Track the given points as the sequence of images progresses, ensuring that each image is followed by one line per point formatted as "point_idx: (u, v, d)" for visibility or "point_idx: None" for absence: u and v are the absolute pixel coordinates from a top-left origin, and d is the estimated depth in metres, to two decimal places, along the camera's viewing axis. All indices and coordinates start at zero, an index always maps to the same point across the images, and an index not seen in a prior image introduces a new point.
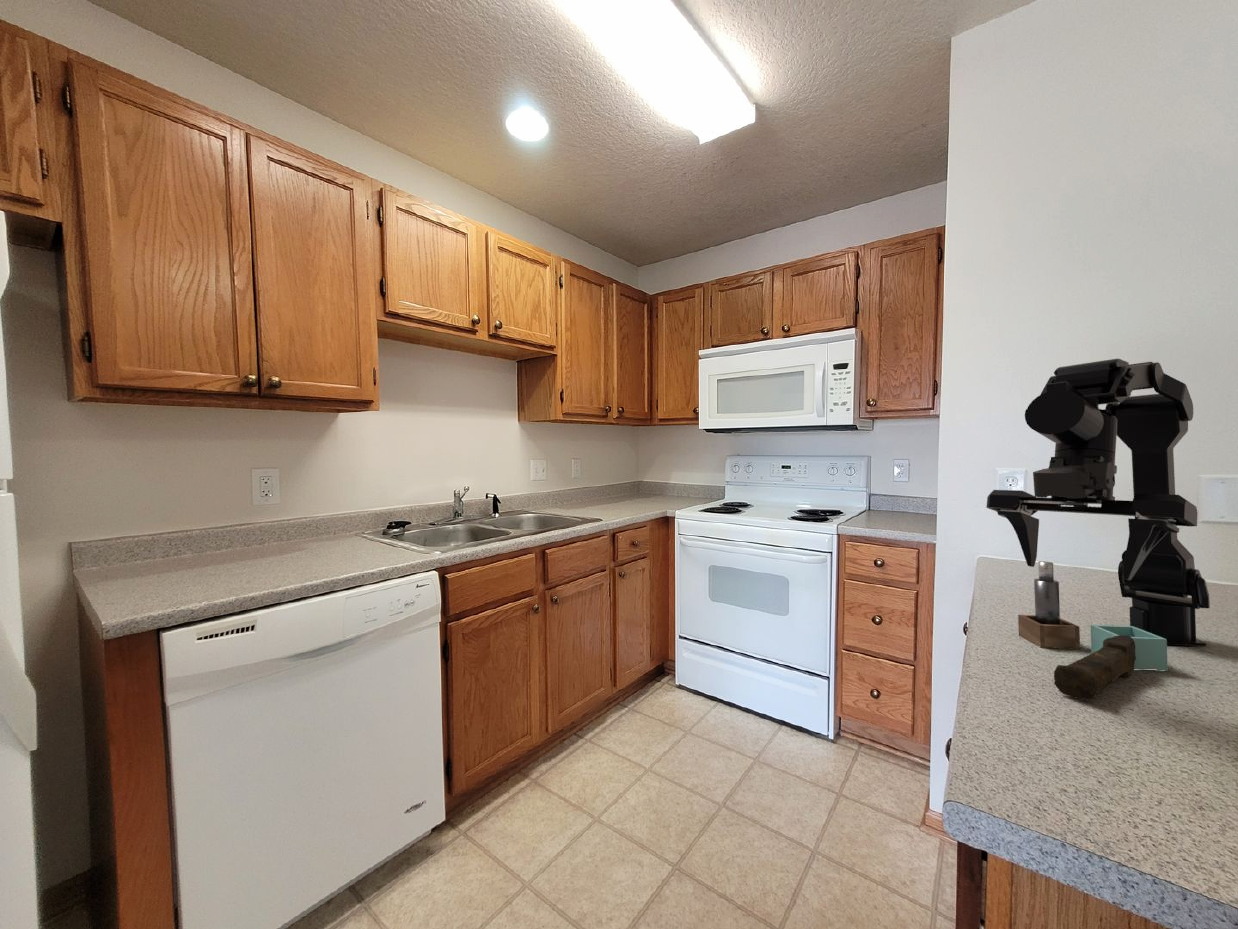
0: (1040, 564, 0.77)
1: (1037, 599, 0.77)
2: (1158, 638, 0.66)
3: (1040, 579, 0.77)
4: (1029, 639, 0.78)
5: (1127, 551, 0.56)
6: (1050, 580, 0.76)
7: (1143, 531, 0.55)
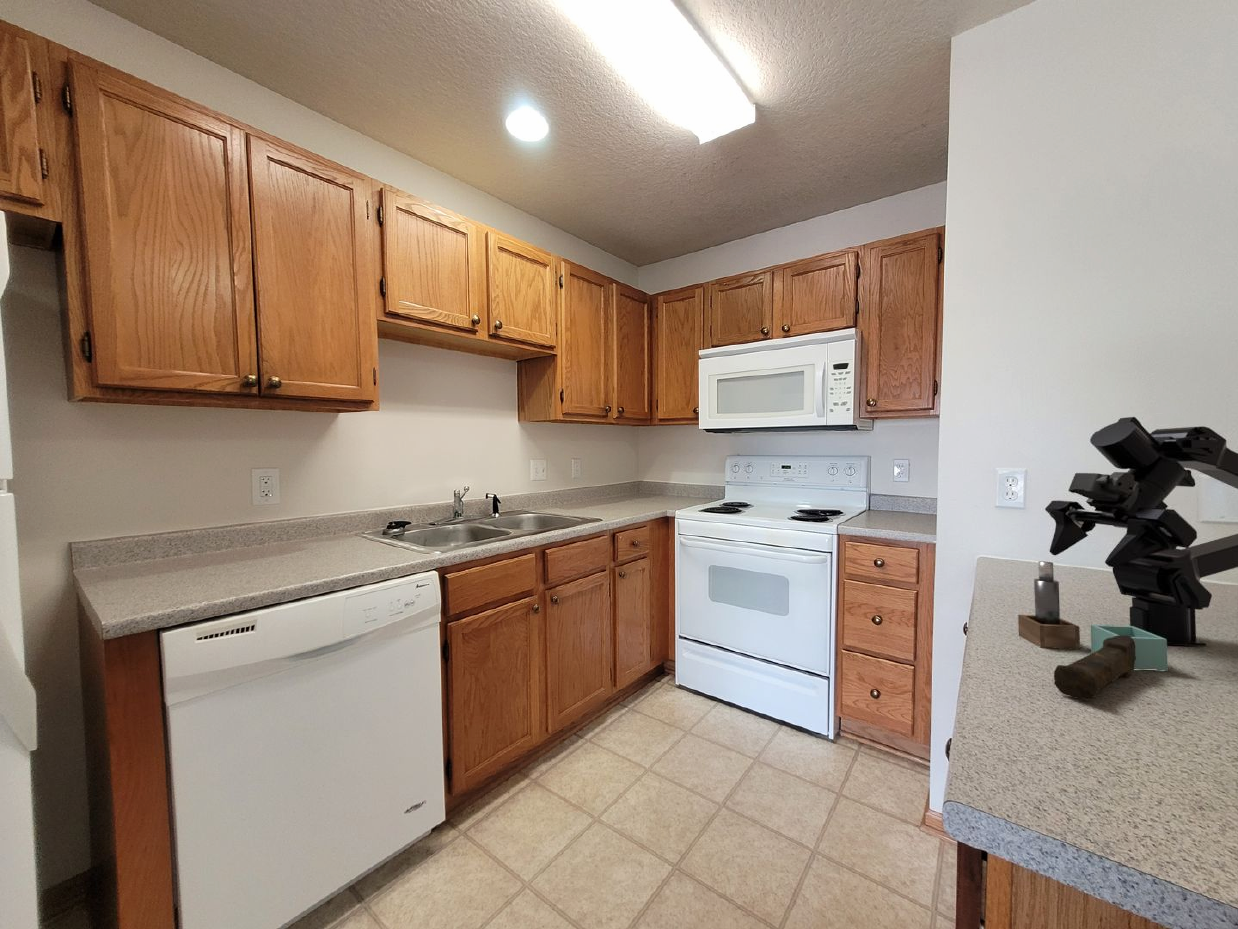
0: (1040, 564, 0.77)
1: (1037, 599, 0.77)
2: (1158, 638, 0.66)
3: (1040, 579, 0.77)
4: (1029, 639, 0.78)
5: (1118, 544, 0.72)
6: (1050, 580, 0.76)
7: (1135, 530, 0.71)
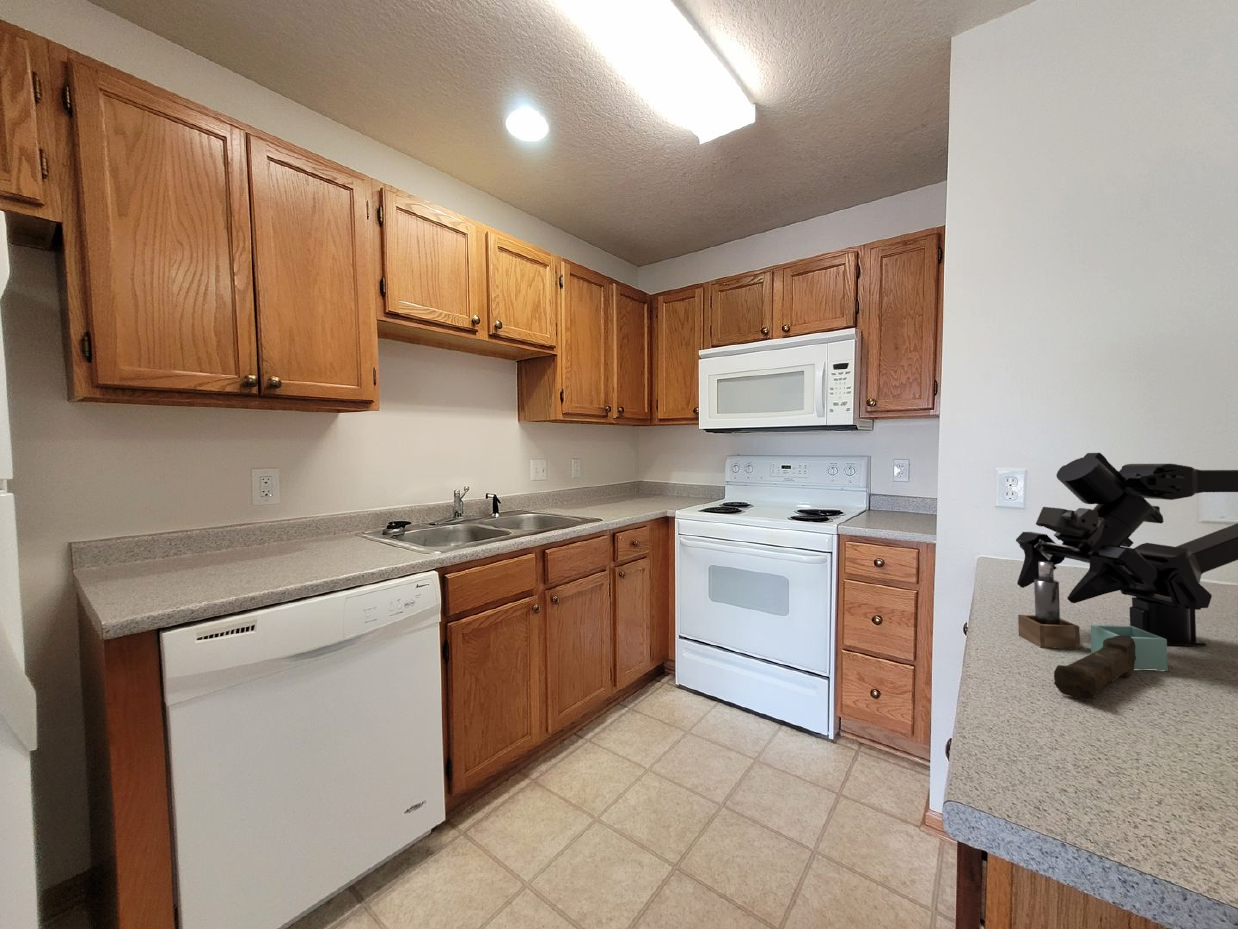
0: (1040, 564, 0.77)
1: (1037, 599, 0.77)
2: (1158, 638, 0.66)
3: (1040, 579, 0.77)
4: (1029, 639, 0.78)
5: (1080, 581, 0.73)
6: (1050, 580, 0.76)
7: (1096, 568, 0.71)
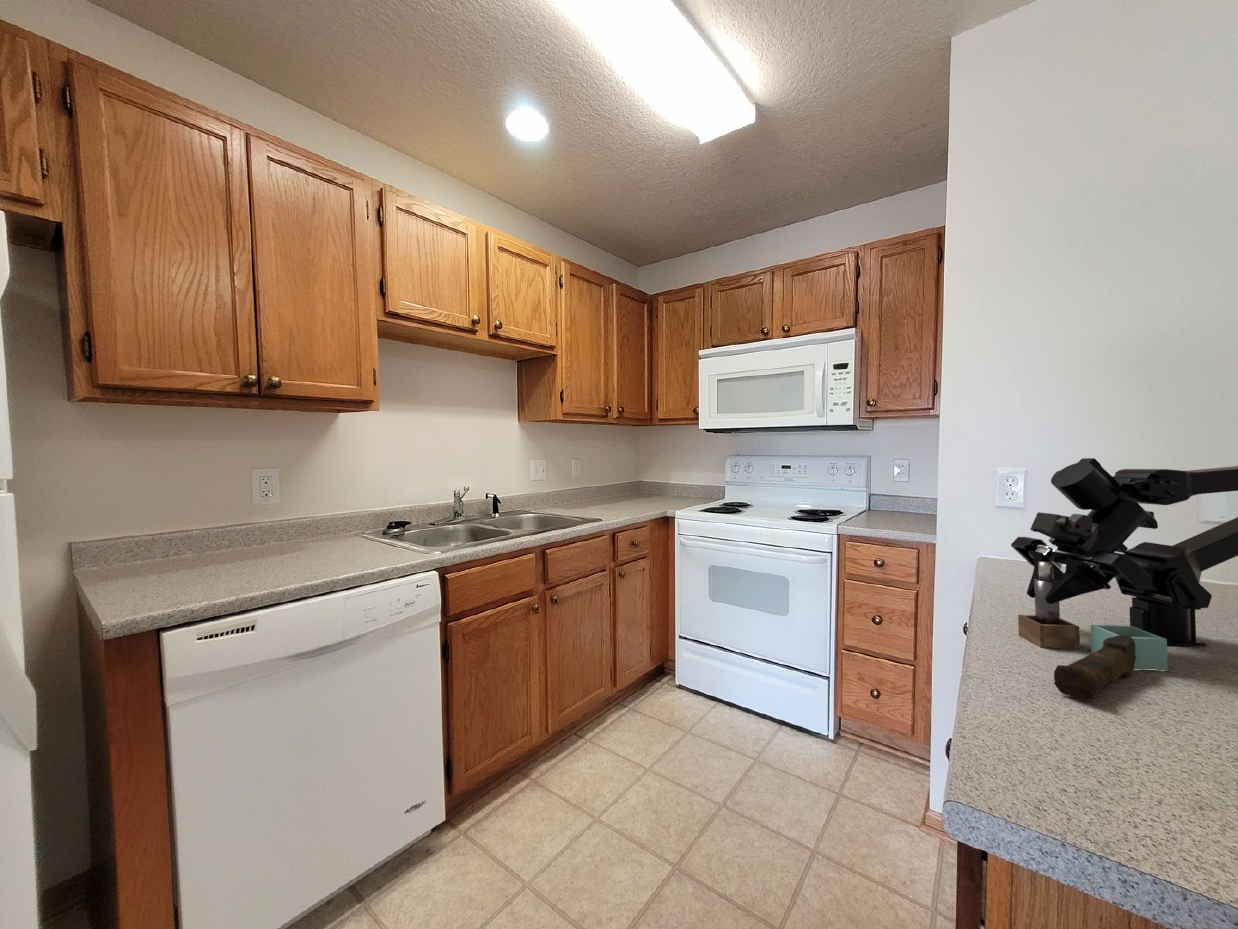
0: (1040, 564, 0.77)
1: (1037, 599, 0.77)
2: (1158, 638, 0.66)
3: (1040, 579, 0.77)
4: (1029, 639, 0.78)
5: (1057, 582, 0.75)
6: (1050, 580, 0.76)
7: (1072, 569, 0.74)
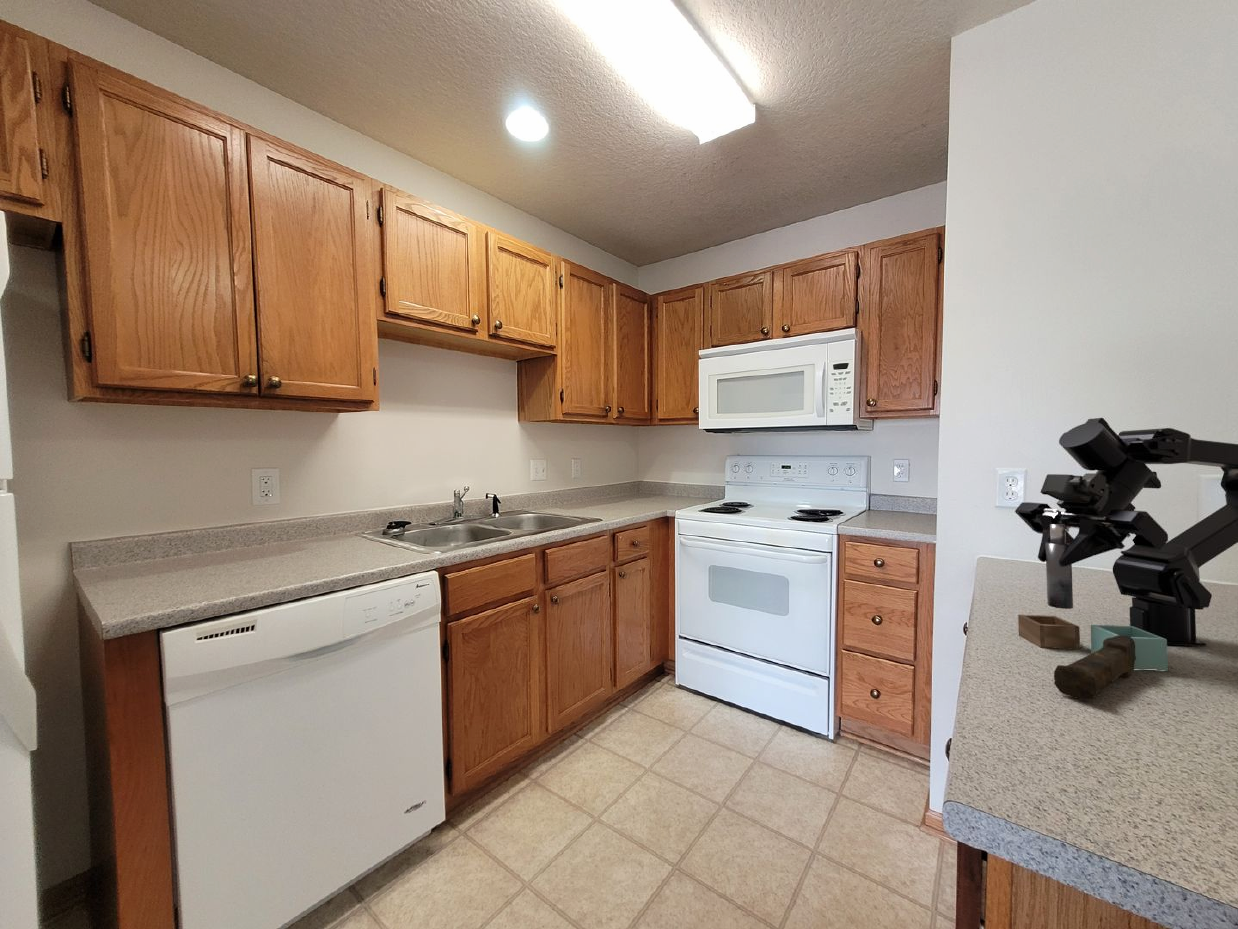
0: (1052, 526, 0.75)
1: (1049, 563, 0.75)
2: (1158, 638, 0.66)
3: (1052, 542, 0.76)
4: (1029, 639, 0.78)
5: (1070, 544, 0.74)
6: (1063, 542, 0.75)
7: (1086, 530, 0.72)
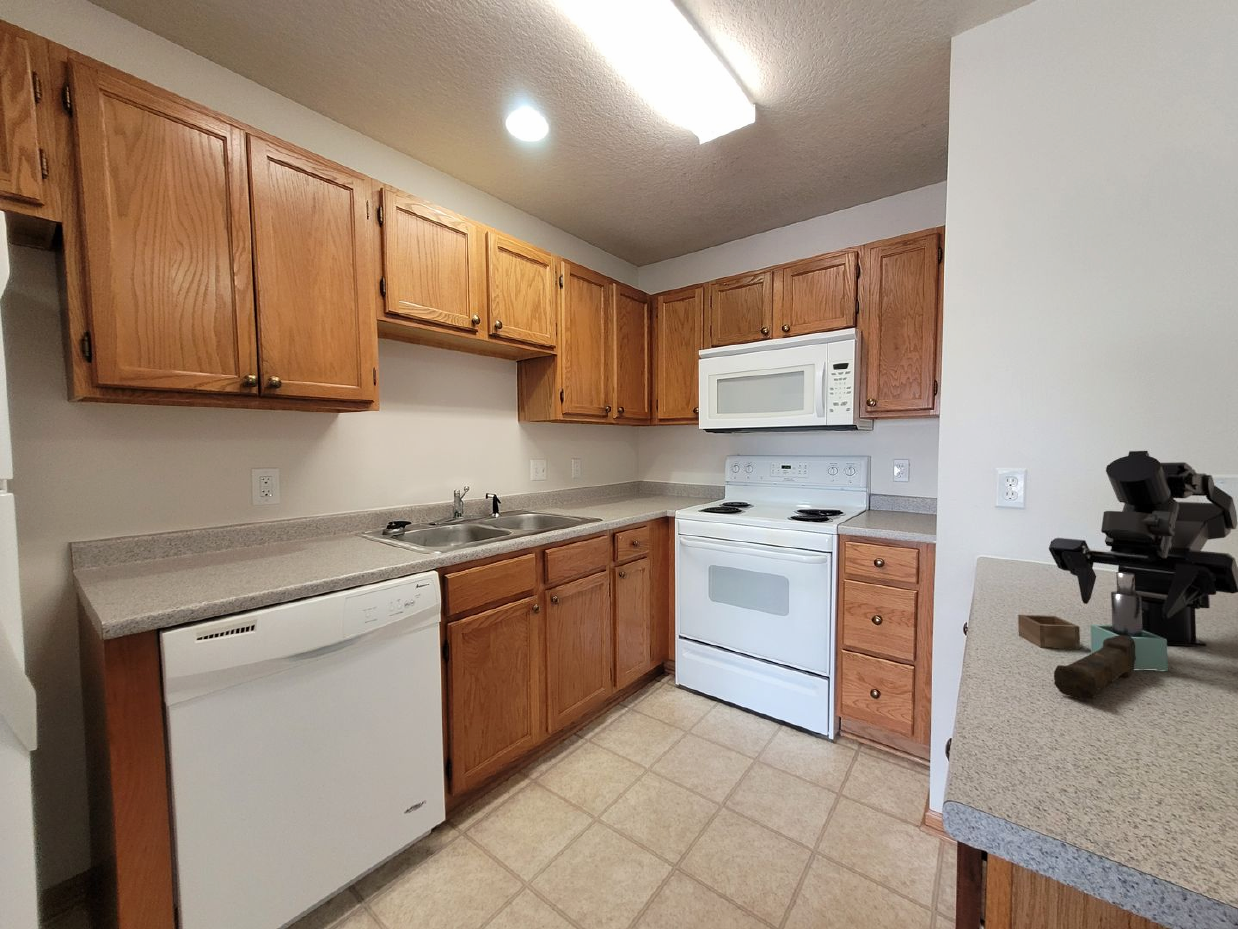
0: (1123, 576, 0.68)
1: (1121, 617, 0.68)
2: (1158, 638, 0.66)
3: (1122, 593, 0.69)
4: (1029, 639, 0.78)
5: (1169, 592, 0.65)
6: (1134, 593, 0.68)
7: (1187, 576, 0.65)
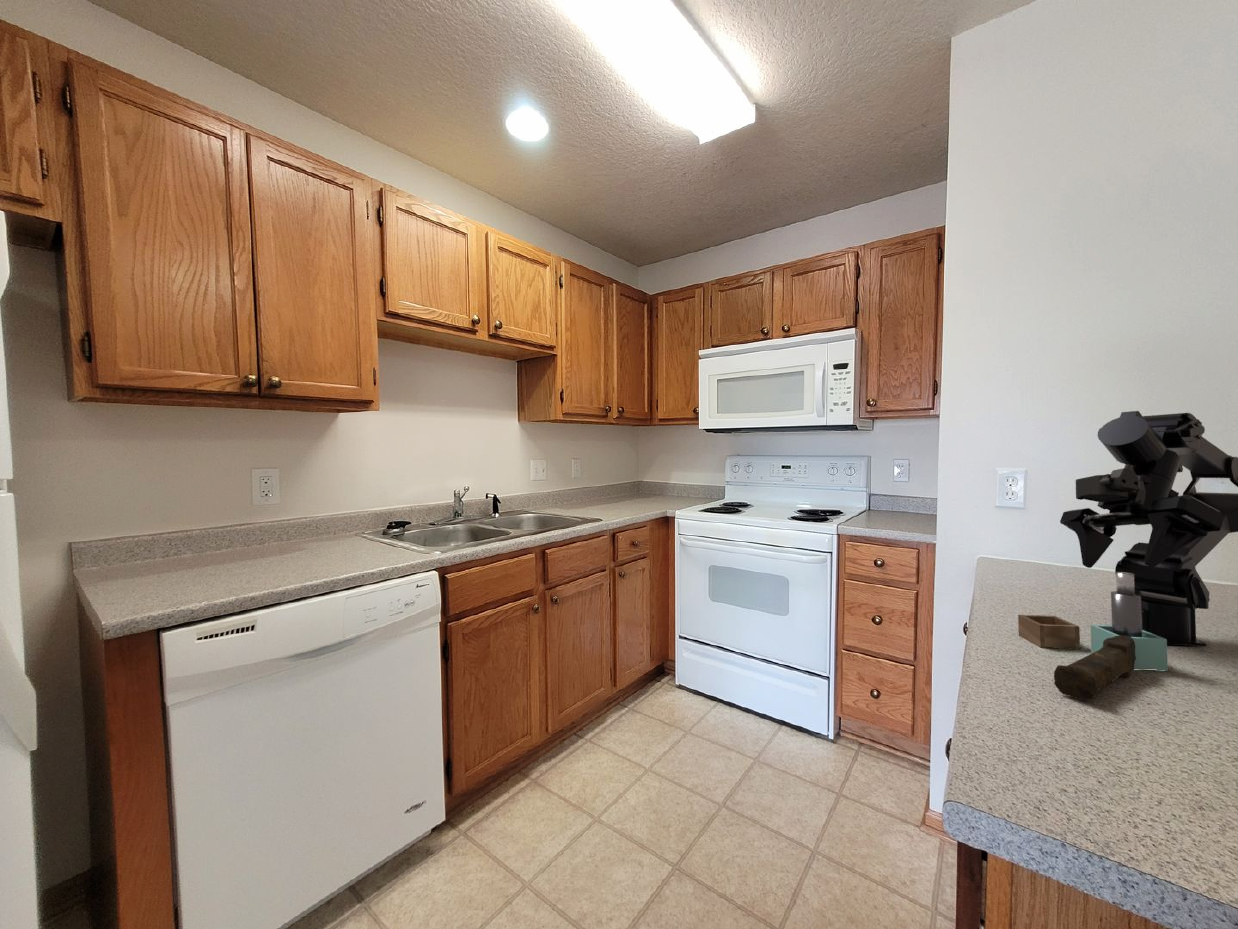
0: (1123, 576, 0.69)
1: (1121, 617, 0.68)
2: (1158, 638, 0.66)
3: (1122, 593, 0.69)
4: (1029, 639, 0.78)
5: (1149, 542, 0.69)
6: (1134, 593, 0.68)
7: (1159, 524, 0.68)
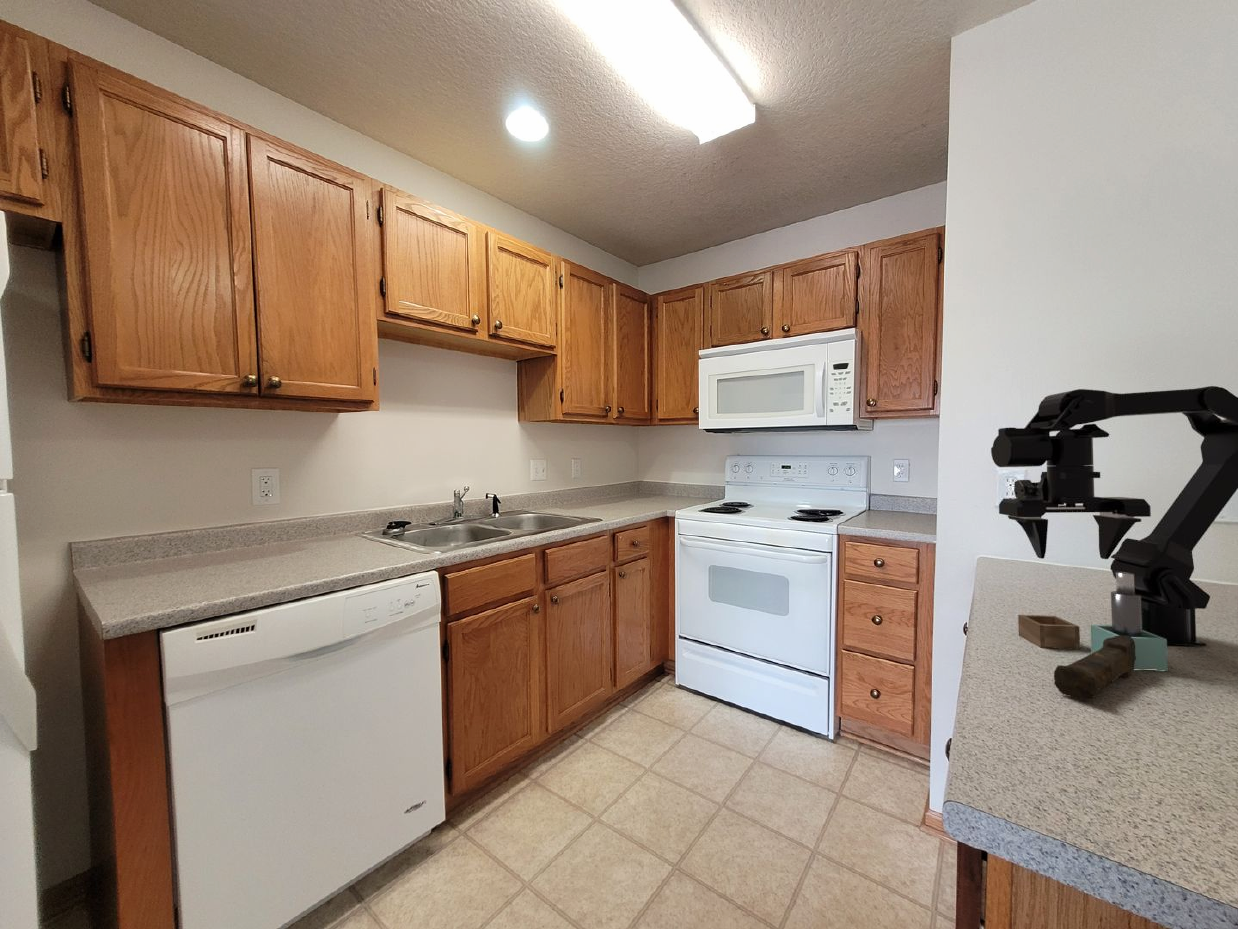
0: (1122, 576, 0.69)
1: (1121, 616, 0.68)
2: (1158, 638, 0.66)
3: (1122, 593, 0.69)
4: (1029, 639, 0.78)
5: None
6: (1134, 593, 0.68)
7: None
